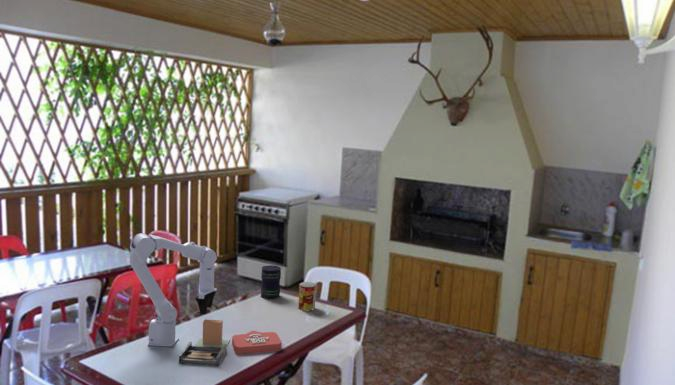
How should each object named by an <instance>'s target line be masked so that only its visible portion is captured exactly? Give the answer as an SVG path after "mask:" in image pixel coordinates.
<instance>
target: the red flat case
mask: <svg viewBox="0 0 675 385" xmlns="http://www.w3.org/2000/svg"><path fill="white" fill-rule="evenodd" d="M231 339H232V340H231V345H232V348H233V351H234V353H235V354H236V355H247V354H258V353H259V354H260V353H267V352H268V353H269V352H270V353H271V352H279V351H281V350H282V340H281V339H280V337H279V335H278V333H277V332H275V331H267V332H266V331H265V332H262V331H257V330H250V331H249V332H247V333H242V334H234V335H232V336H231Z"/></svg>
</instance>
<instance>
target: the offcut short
mask: <svg viewBox="0 0 675 385" xmlns="http://www.w3.org/2000/svg"><path fill="white" fill-rule="evenodd" d="M191 355H199V356H211V353H198V352H192V353H191Z"/></svg>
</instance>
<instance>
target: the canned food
mask: <svg viewBox="0 0 675 385" xmlns="http://www.w3.org/2000/svg"><path fill="white" fill-rule="evenodd" d="M316 286H317V284H316V283H315V282H310V281H303V282H300V283H299V291H298V310H299V309H300V311H301V310H304V311H303V312H308V311H307V310H312V309H314V308H316V291H317V289H316V288H317V287H316ZM314 310H315V309H314Z"/></svg>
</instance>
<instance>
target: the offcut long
mask: <svg viewBox="0 0 675 385" xmlns="http://www.w3.org/2000/svg"><path fill="white" fill-rule="evenodd" d="M186 359H198V360H214V357H212V356H199V355H187V356H186Z"/></svg>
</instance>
